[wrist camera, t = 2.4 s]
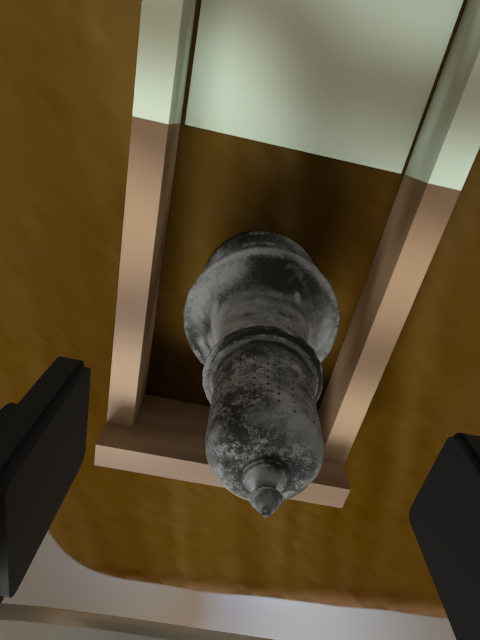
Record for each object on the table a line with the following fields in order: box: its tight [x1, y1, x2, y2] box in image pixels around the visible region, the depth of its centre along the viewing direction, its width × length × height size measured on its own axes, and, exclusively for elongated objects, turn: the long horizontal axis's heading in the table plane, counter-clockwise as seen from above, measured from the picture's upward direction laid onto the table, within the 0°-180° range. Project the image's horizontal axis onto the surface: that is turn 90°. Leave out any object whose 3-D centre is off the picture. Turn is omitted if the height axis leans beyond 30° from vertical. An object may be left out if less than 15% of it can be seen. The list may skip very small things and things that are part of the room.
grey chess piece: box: [184, 231, 340, 518], centre depth 14 cm, size 6×6×12 cm
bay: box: [94, 0, 480, 508], centre depth 16 cm, size 21×11×4 cm, turn 168°
